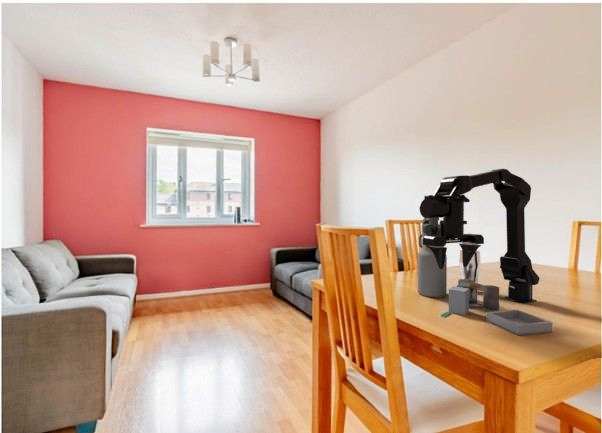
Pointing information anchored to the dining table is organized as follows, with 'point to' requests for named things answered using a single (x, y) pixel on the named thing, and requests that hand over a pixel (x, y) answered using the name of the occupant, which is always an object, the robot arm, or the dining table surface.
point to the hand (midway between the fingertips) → (453, 267)
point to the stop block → (459, 300)
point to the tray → (519, 322)
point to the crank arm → (484, 293)
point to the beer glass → (470, 267)
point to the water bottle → (430, 268)
